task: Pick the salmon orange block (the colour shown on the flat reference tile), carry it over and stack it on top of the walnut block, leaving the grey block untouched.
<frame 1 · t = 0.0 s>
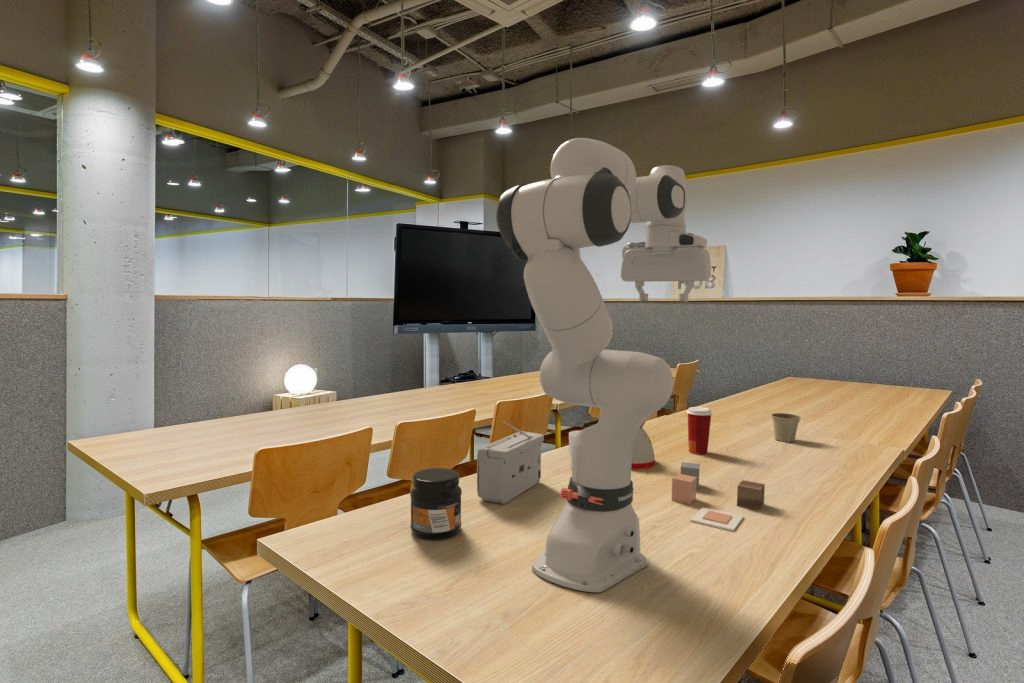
hand: (663, 301, 128), 48 cm above the table, tool pointing down, fingers open, 8 cm apart
flower pot: (784, 440, 195), on the table
salmon orange block: (683, 499, 136), on the table
stereo radio cassette player: (511, 492, 140), on the table
grey block: (689, 486, 146), on the table
white cup: (581, 468, 161), on the table
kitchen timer: (630, 462, 167), on the table
reference tile: (717, 519, 123), on the table
walnut block: (750, 505, 133), on the table
supplement container: (436, 531, 116), on the table
paper cup: (697, 452, 178), on the table
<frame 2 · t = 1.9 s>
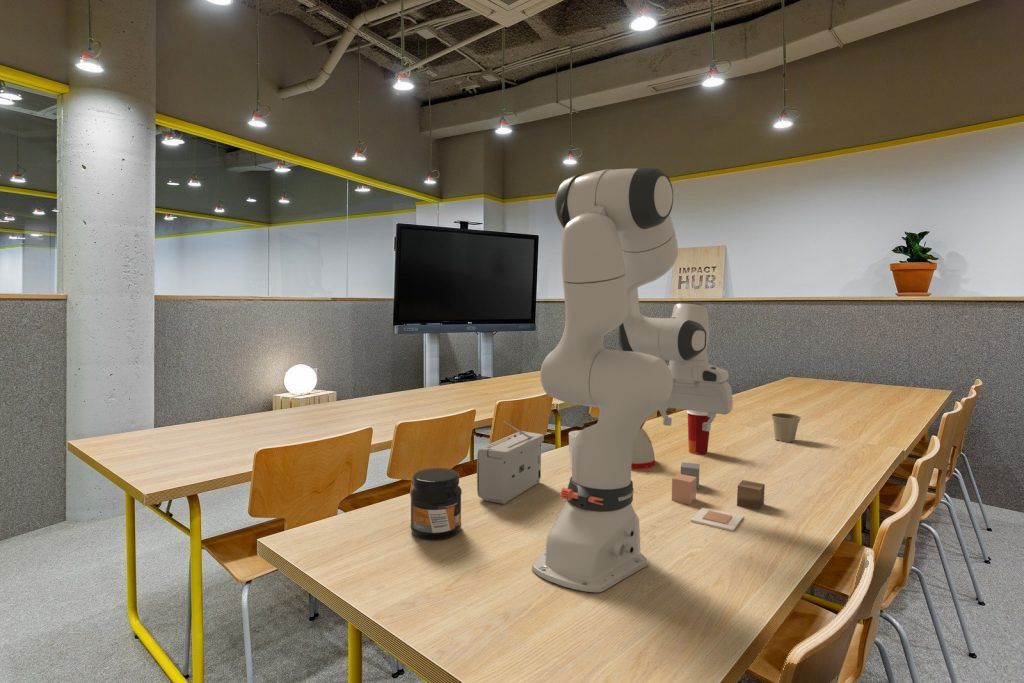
hand: (686, 427, 134), 18 cm above the table, tool pointing down, fingers open, 8 cm apart
nothing on the table moved.
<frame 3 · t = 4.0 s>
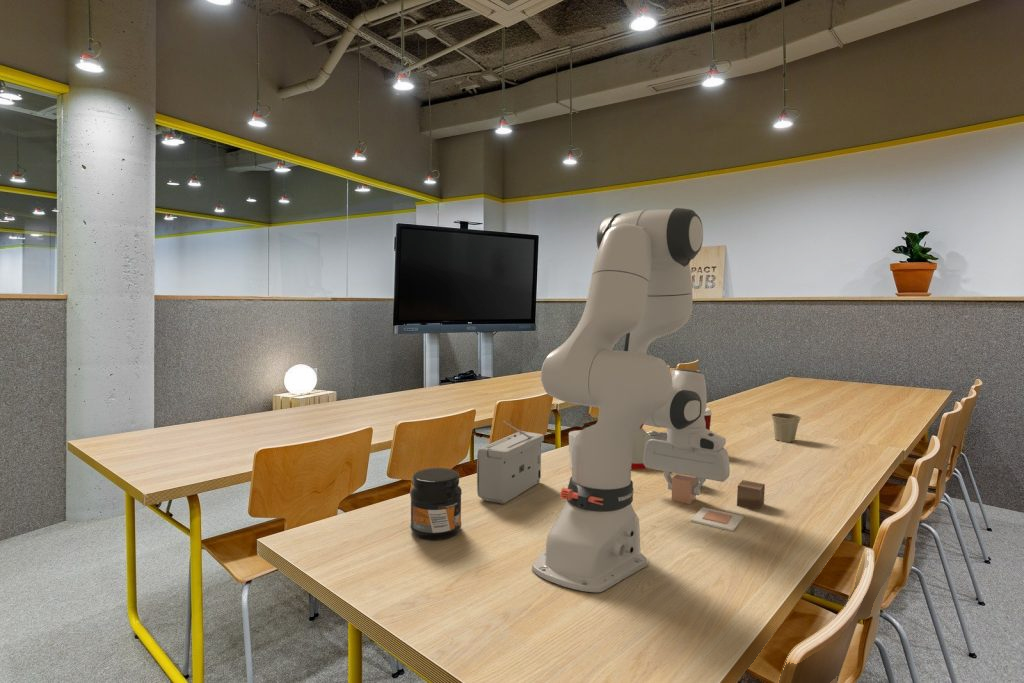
hand: (683, 491, 136), 2 cm above the table, tool pointing down, fingers closed on salmon orange block, 4 cm apart
salmon orange block: (683, 499, 136), on the table, touching gripper
everything else where it was.
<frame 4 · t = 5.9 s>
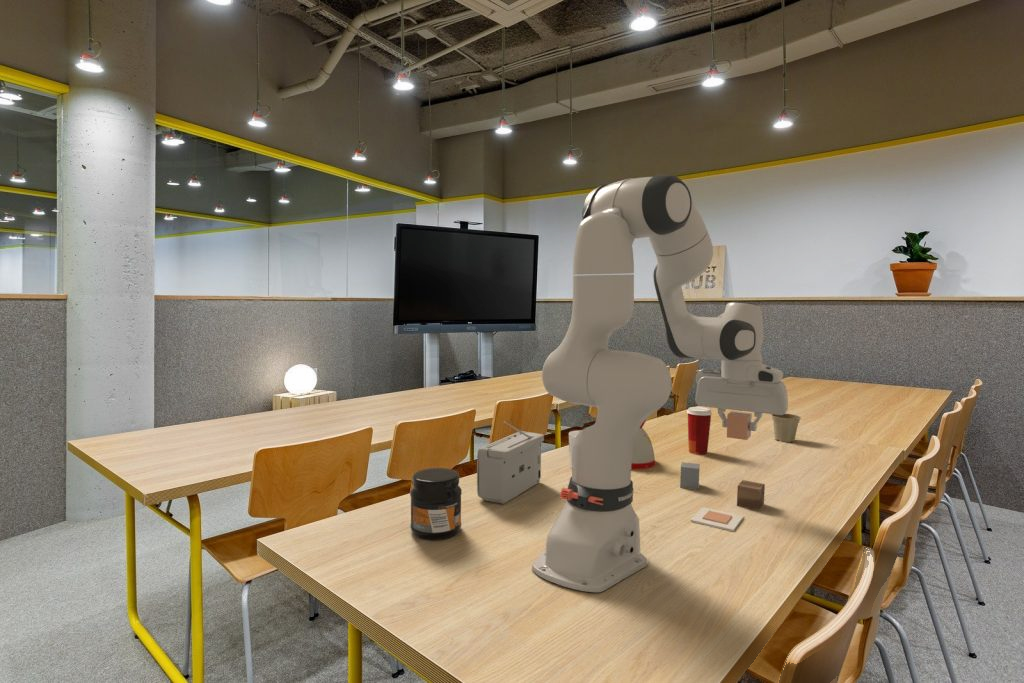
hand: (739, 428, 132), 18 cm above the table, tool pointing down, fingers closed on salmon orange block, 4 cm apart
salmon orange block: (738, 436, 133), point 16 cm above the table, touching gripper
everything else where it was.
when the fingers open (8 cm above the table, at t = 8.2 s): salmon orange block drops 1 cm, resting on walnut block.
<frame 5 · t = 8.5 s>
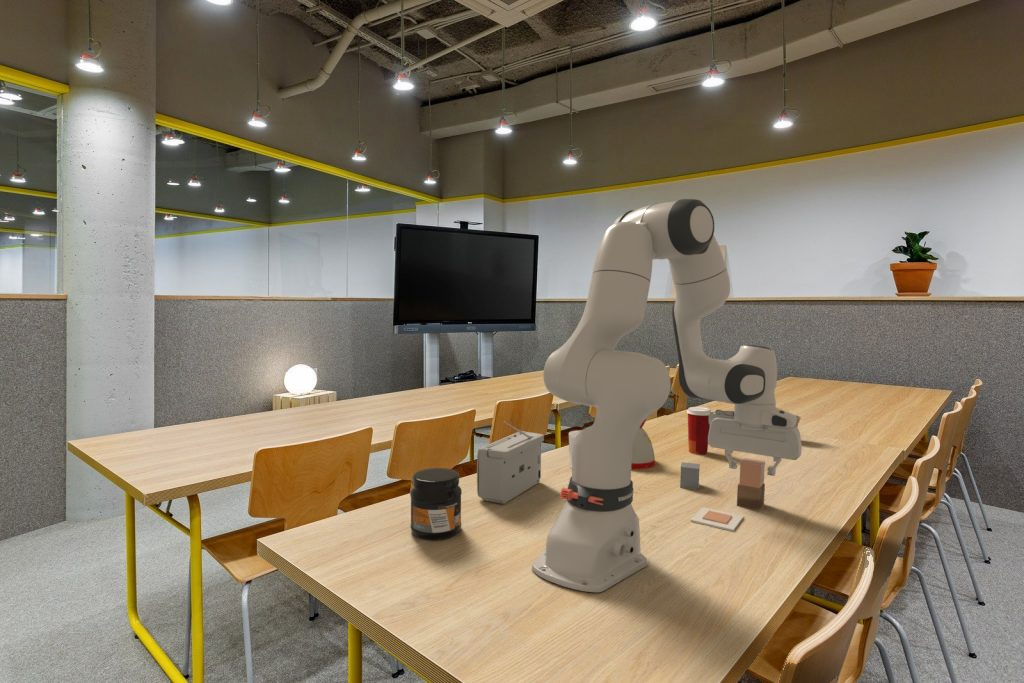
hand: (751, 471, 132), 8 cm above the table, tool pointing down, fingers open, 7 cm apart
salmon orange block: (751, 484, 132), point 5 cm above the table, touching walnut block
walnut block: (750, 505, 133), on the table, touching salmon orange block
everything else where it was.
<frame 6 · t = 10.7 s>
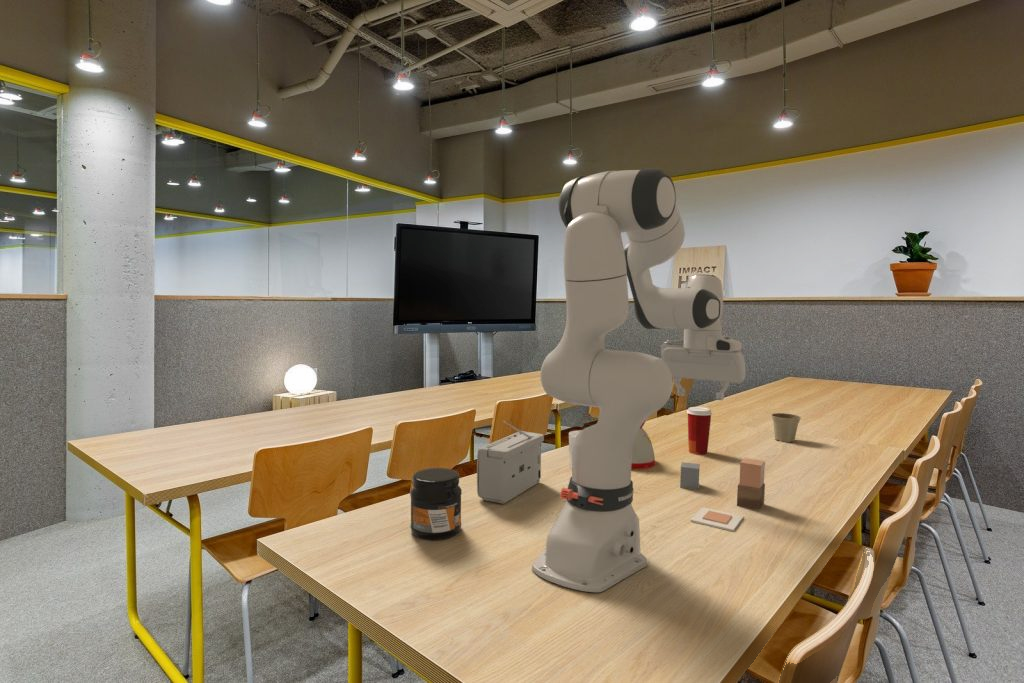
hand: (700, 397, 138), 24 cm above the table, tool pointing down, fingers open, 8 cm apart
nothing on the table moved.
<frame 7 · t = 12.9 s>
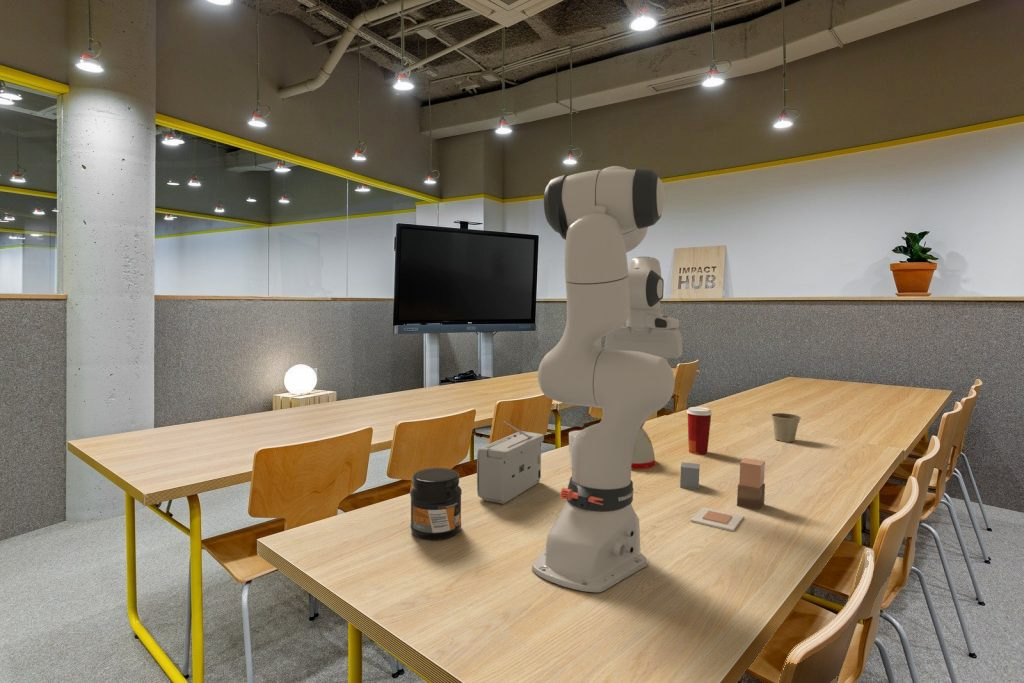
hand: (641, 373, 146), 29 cm above the table, tool pointing down, fingers open, 8 cm apart
nothing on the table moved.
at the end: salmon orange block 0.1 cm off-centre on the walnut block, point 5.0 cm above the walnut block's base; the gripper is holding nothing; walnut block tilted 0° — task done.
